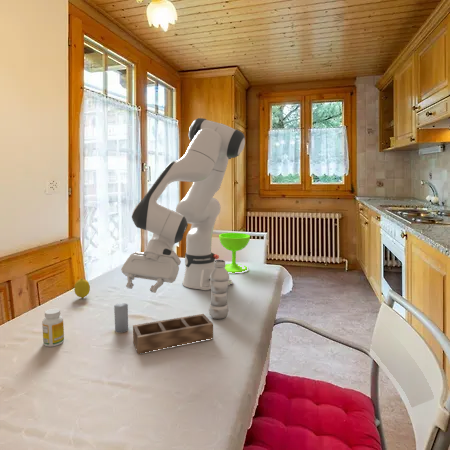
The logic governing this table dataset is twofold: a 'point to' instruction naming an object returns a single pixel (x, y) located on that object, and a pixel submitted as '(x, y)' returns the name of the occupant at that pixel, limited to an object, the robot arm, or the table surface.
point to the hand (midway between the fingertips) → (140, 289)
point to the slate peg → (121, 317)
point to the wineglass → (234, 248)
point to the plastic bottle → (219, 290)
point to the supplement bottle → (53, 328)
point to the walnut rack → (171, 332)
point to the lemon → (82, 288)
